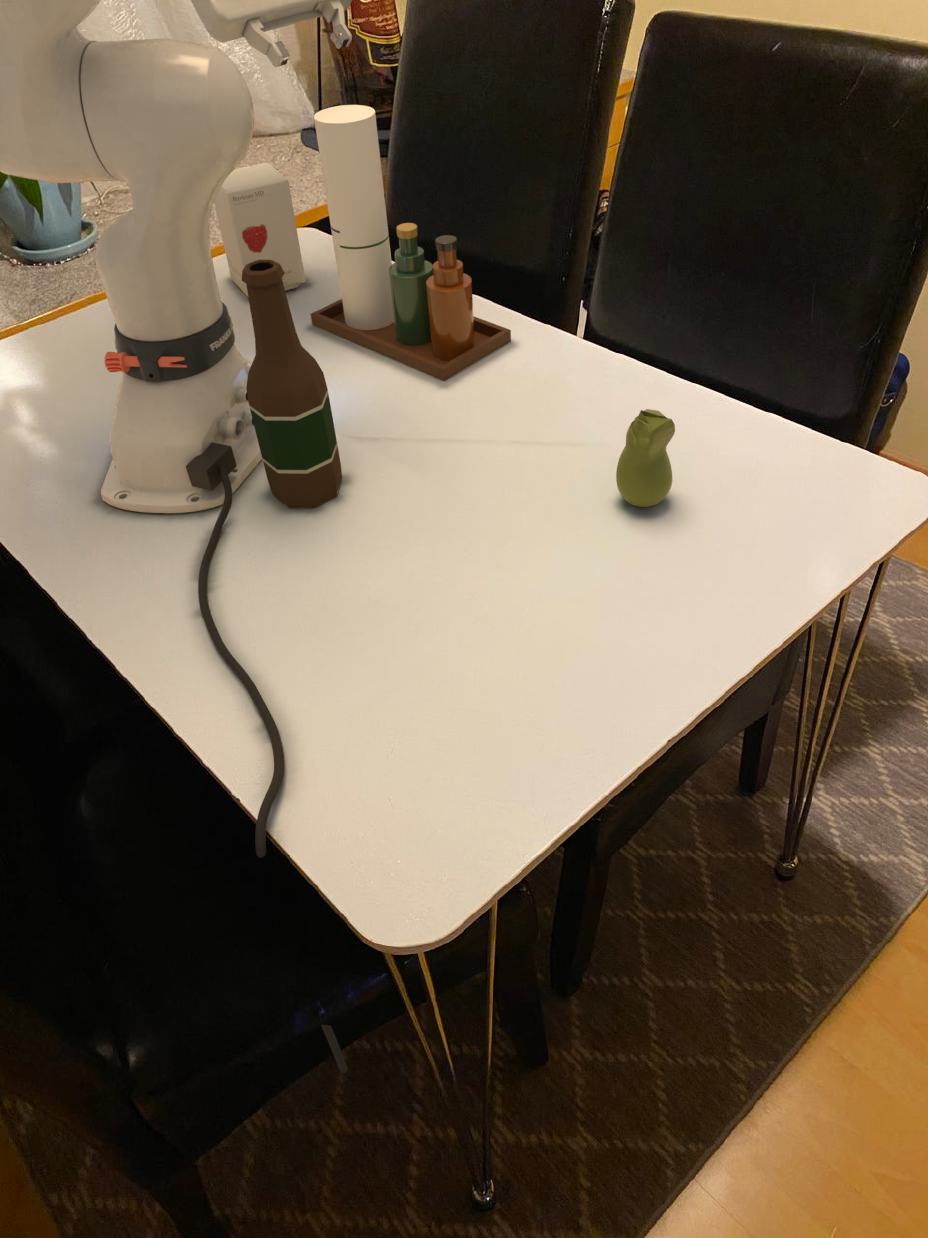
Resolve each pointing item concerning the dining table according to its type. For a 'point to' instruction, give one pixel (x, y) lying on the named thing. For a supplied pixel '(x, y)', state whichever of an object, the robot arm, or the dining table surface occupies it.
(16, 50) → the robot arm
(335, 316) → the tray
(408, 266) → the green bottle
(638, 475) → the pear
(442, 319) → the amber bottle
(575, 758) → the dining table surface
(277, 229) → the white product box
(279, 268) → the beer bottle
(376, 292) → the cylindrical container
